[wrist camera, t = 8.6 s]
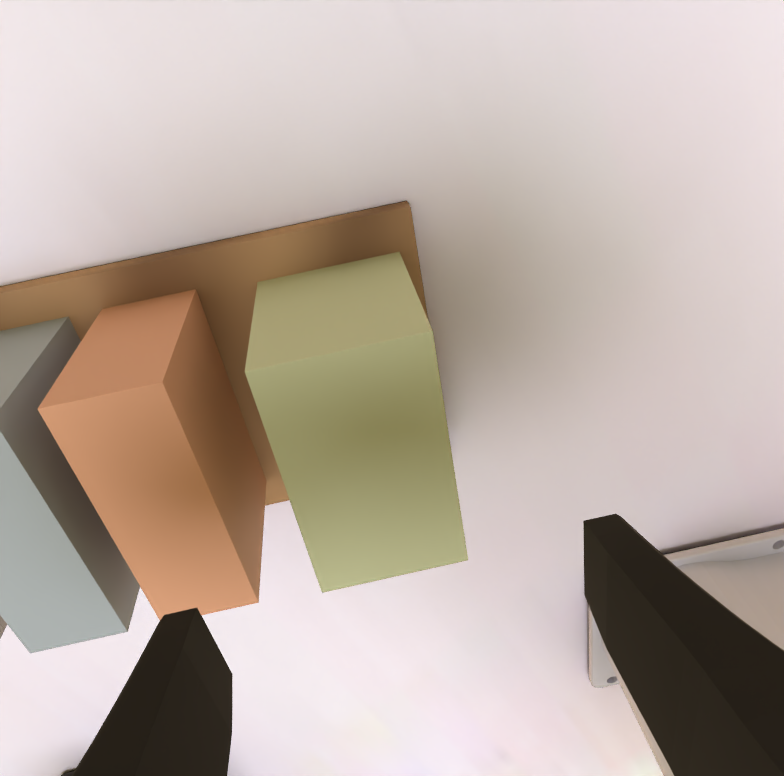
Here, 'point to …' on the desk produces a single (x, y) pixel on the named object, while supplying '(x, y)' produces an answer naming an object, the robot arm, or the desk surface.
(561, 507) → the desk surface
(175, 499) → the terracotta book
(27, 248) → the desk surface
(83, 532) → the grey-blue block
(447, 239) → the desk surface
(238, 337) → the walnut board
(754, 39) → the desk surface
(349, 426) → the sage book
